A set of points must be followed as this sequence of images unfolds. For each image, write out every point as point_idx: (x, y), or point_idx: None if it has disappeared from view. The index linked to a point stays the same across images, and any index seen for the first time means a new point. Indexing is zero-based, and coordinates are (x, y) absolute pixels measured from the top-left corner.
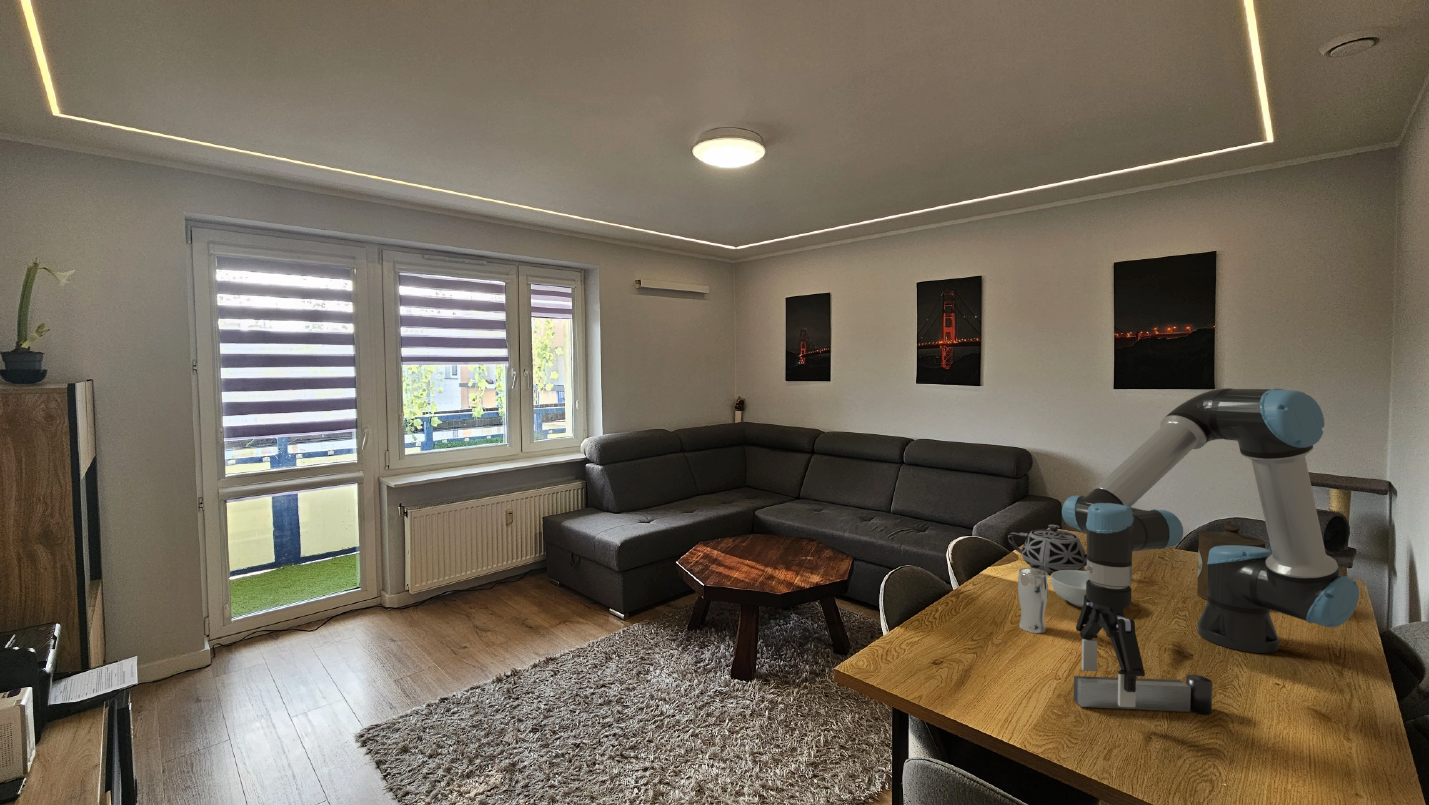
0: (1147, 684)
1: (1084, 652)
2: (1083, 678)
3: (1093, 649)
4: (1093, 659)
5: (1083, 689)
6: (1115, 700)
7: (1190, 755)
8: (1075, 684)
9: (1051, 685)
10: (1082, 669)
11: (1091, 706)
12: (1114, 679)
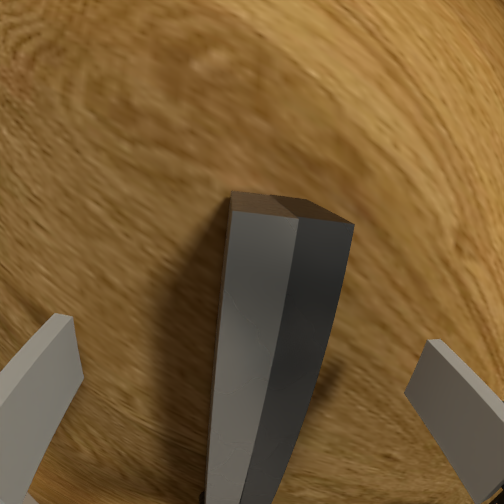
0: (209, 499)
1: (482, 405)
2: (313, 275)
3: (466, 457)
4: (439, 418)
5: (230, 217)
6: (214, 358)
7: (3, 365)
8: (315, 211)
9: (426, 179)
10: (435, 340)
11: (225, 241)
12: (277, 433)
